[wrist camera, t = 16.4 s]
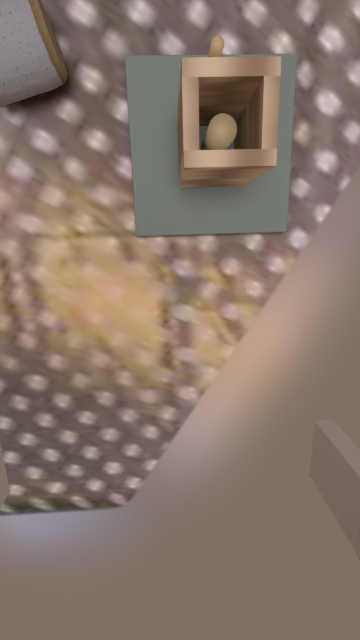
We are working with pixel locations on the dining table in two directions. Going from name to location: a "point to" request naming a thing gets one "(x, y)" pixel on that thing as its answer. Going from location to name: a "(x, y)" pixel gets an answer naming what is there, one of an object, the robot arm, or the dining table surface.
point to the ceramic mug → (27, 52)
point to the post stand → (162, 149)
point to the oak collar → (240, 103)
